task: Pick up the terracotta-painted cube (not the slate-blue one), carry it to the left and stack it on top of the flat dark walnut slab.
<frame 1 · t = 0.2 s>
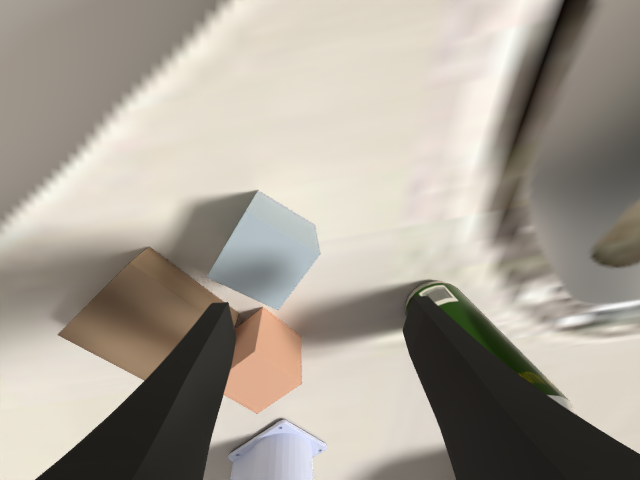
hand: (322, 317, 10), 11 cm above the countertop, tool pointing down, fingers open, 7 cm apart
beer can: (429, 300, 24), on the countertop
walnut slab: (163, 312, 22), on the countertop
slate cube: (271, 233, 20), on the countertop
terracotta cube: (263, 336, 24), on the countertop
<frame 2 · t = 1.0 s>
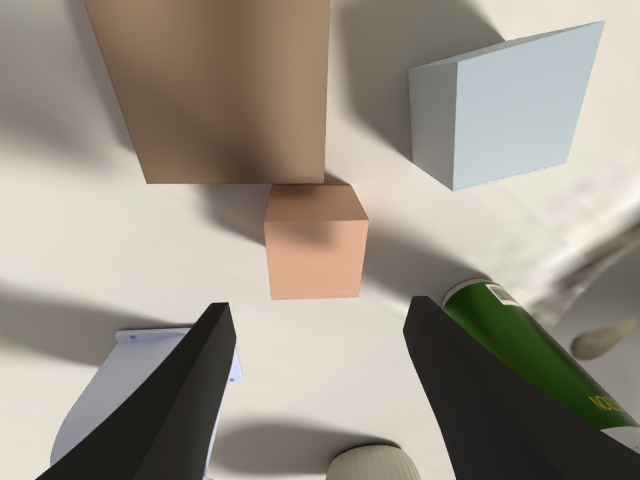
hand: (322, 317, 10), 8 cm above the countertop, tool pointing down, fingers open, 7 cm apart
beer can: (467, 297, 23), on the countertop
canister: (367, 456, 40), on the countertop
walnut slab: (234, 81, 13), on the countertop
slate cube: (453, 108, 14), on the countertop
terracotta cube: (312, 219, 18), on the countertop
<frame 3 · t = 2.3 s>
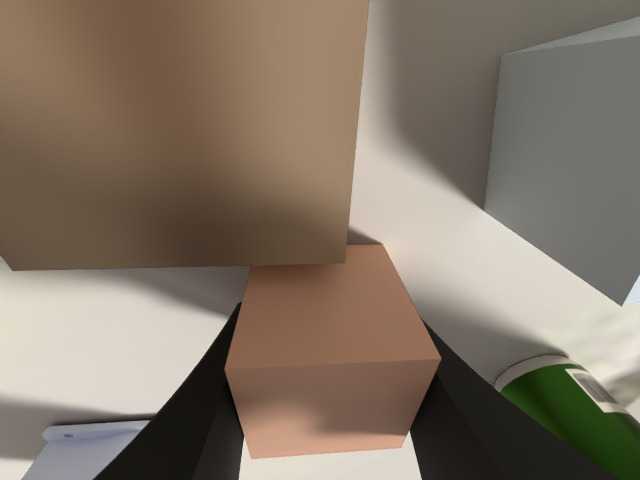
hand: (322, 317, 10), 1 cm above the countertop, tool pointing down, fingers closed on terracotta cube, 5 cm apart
beer can: (529, 374, 17), on the countertop
walnut slab: (178, 78, 7), on the countertop
slate cube: (566, 124, 8), on the countertop
terracotta cube: (319, 292, 11), on the countertop, touching gripper
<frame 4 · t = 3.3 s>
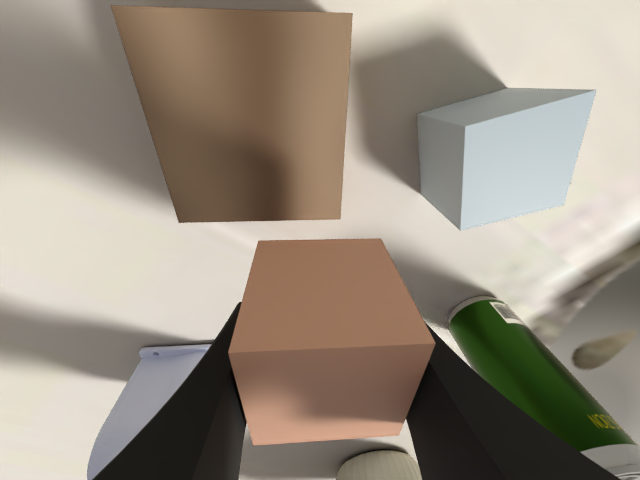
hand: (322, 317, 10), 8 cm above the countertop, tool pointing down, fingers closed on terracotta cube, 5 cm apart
beer can: (472, 312, 24), on the countertop
canister: (374, 460, 41), on the countertop
walnut slab: (258, 128, 14), on the countertop
slate cube: (459, 145, 16), on the countertop
terracotta cube: (319, 286, 12), point 7 cm above the countertop, touching gripper
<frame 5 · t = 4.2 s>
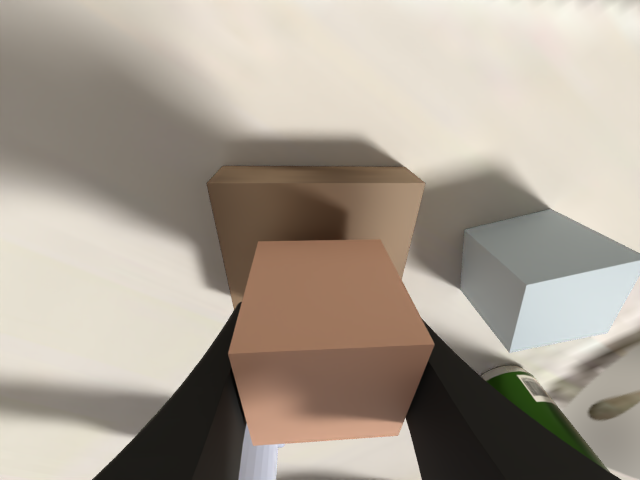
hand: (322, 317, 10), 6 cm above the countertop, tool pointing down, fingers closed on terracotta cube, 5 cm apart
beer can: (497, 377, 25), on the countertop
walnut slab: (314, 243, 15), on the countertop
slate cube: (500, 252, 16), on the countertop
terracotta cube: (319, 286, 12), point 4 cm above the countertop, touching gripper
when the fingers open (5 cm above the countertop, at t = 4.8 s): terracotta cube stays where it is, resting on walnut slab.
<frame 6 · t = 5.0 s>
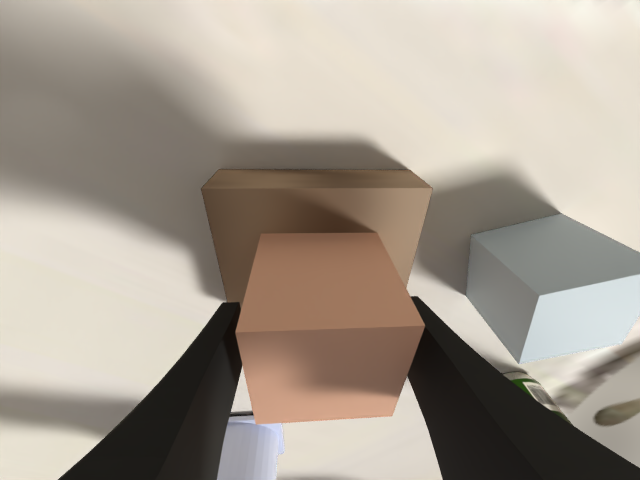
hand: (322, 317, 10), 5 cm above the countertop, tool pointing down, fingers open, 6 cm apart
beer can: (502, 384, 24), on the countertop
walnut slab: (315, 249, 14), on the countertop
slate cube: (508, 257, 16), on the countertop
terracotta cube: (318, 278, 12), point 2 cm above the countertop, touching walnut slab
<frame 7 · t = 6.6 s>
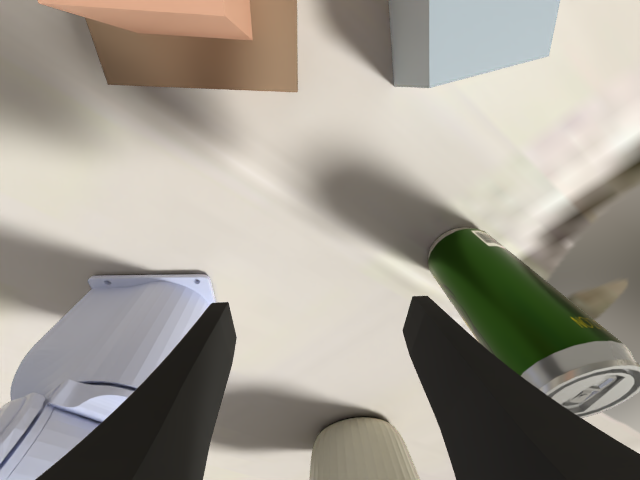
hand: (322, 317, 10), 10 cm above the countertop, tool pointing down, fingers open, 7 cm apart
beer can: (454, 249, 22), on the countertop
canister: (354, 430, 40), on the countertop
slate cube: (436, 21, 14), on the countertop
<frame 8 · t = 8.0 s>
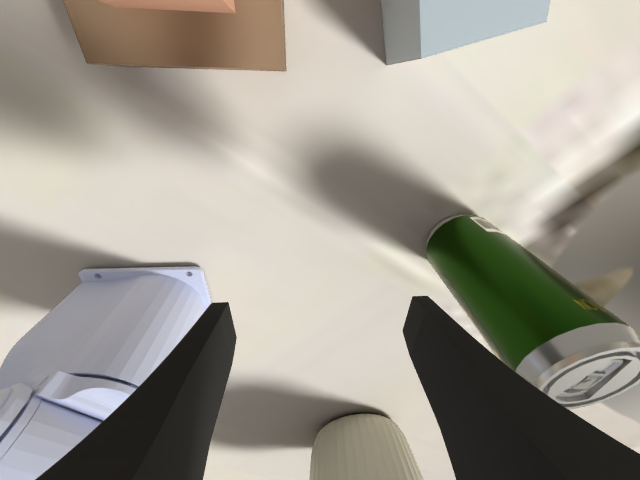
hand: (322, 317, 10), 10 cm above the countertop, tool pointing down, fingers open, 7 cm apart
beer can: (452, 238, 22), on the countertop
canister: (355, 427, 39), on the countertop
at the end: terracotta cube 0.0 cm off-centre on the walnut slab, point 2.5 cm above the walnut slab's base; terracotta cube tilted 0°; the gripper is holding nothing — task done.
